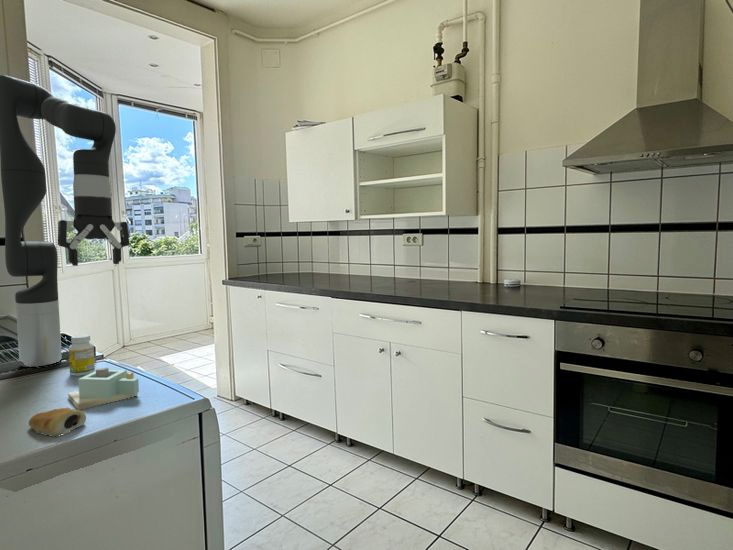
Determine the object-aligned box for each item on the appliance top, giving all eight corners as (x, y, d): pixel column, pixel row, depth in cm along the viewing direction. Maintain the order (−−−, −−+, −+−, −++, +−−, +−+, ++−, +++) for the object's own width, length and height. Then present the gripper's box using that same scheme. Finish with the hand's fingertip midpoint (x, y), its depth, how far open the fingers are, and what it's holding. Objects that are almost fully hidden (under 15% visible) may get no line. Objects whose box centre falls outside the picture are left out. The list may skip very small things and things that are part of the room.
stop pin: (126, 390, 95) (125, 373, 94) (133, 388, 96) (132, 372, 95) (128, 391, 94) (127, 374, 94) (135, 390, 95) (134, 373, 95)
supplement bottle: (94, 374, 109) (92, 337, 108) (68, 377, 107) (66, 339, 106) (95, 368, 114) (94, 332, 113) (71, 371, 111) (69, 334, 111)
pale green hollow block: (79, 397, 90) (78, 379, 90) (99, 387, 97) (98, 369, 96) (128, 398, 90) (127, 380, 90) (144, 387, 96) (144, 370, 96)
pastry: (17, 433, 77) (15, 412, 77) (53, 418, 84) (52, 399, 83) (57, 440, 75) (56, 418, 74) (91, 424, 81) (90, 404, 81)
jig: (68, 398, 93) (66, 370, 93) (124, 386, 101) (123, 360, 100) (78, 410, 87) (77, 380, 86) (137, 396, 95) (136, 368, 94)
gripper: (121, 199, 109) (123, 262, 111) (52, 194, 99) (56, 265, 101) (131, 197, 104) (133, 264, 105) (59, 192, 94) (63, 267, 95)
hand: (96, 264), depth 103 cm, fingers open, 8 cm apart
